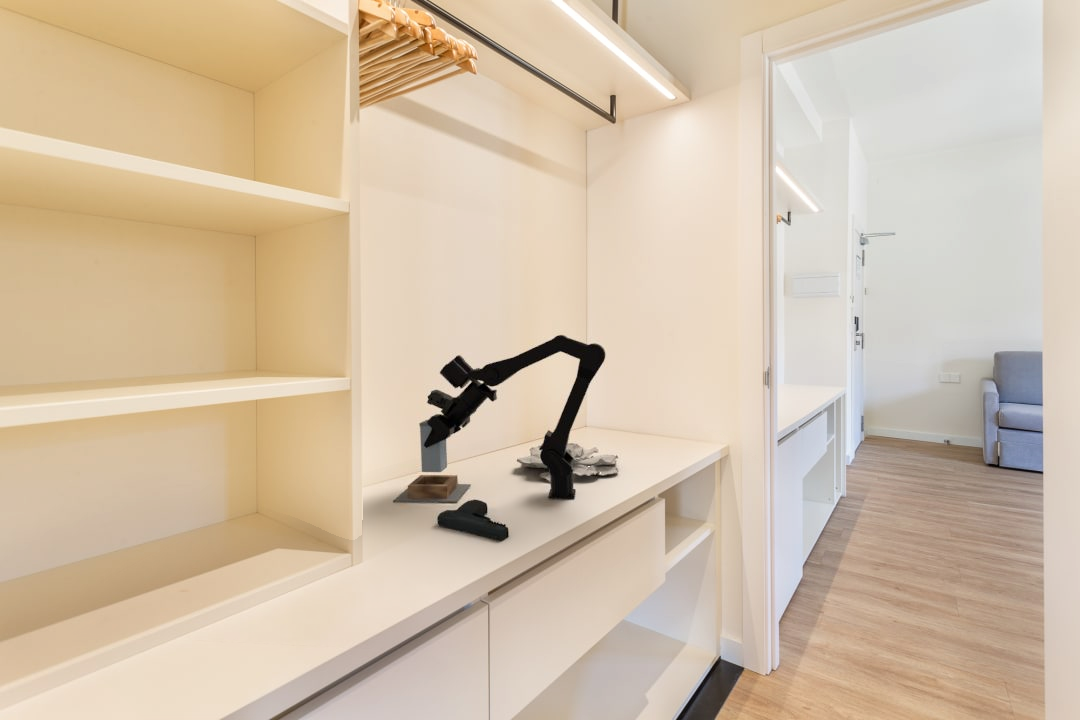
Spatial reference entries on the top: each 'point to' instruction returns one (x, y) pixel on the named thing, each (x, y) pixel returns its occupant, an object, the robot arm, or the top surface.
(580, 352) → the robot arm
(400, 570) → the top surface
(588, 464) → the decorative wall flower
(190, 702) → the top surface
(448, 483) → the brown square open frame
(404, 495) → the mat
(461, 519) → the handgun
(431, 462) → the tin
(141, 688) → the top surface
